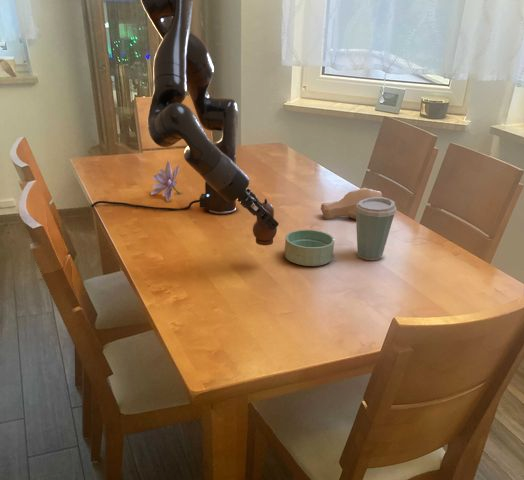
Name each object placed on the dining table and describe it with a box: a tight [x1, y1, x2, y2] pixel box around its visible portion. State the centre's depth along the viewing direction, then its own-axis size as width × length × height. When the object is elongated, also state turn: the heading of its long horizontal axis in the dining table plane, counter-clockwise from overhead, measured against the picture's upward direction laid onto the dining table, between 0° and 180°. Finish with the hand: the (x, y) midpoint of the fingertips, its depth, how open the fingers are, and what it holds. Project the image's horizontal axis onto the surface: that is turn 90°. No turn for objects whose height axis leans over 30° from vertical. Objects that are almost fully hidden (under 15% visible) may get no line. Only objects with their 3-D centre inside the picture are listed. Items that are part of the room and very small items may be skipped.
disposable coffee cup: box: [355, 196, 397, 261], centre depth 144 cm, size 11×11×15 cm
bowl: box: [284, 229, 335, 267], centre depth 145 cm, size 13×13×6 cm
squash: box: [320, 186, 383, 220], centre depth 172 cm, size 11×20×9 cm, turn 100°
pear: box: [252, 198, 278, 246], centre depth 134 cm, size 6×6×11 cm
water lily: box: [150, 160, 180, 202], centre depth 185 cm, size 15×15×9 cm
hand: (271, 222), depth 135 cm, fingers closed on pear, 5 cm apart
